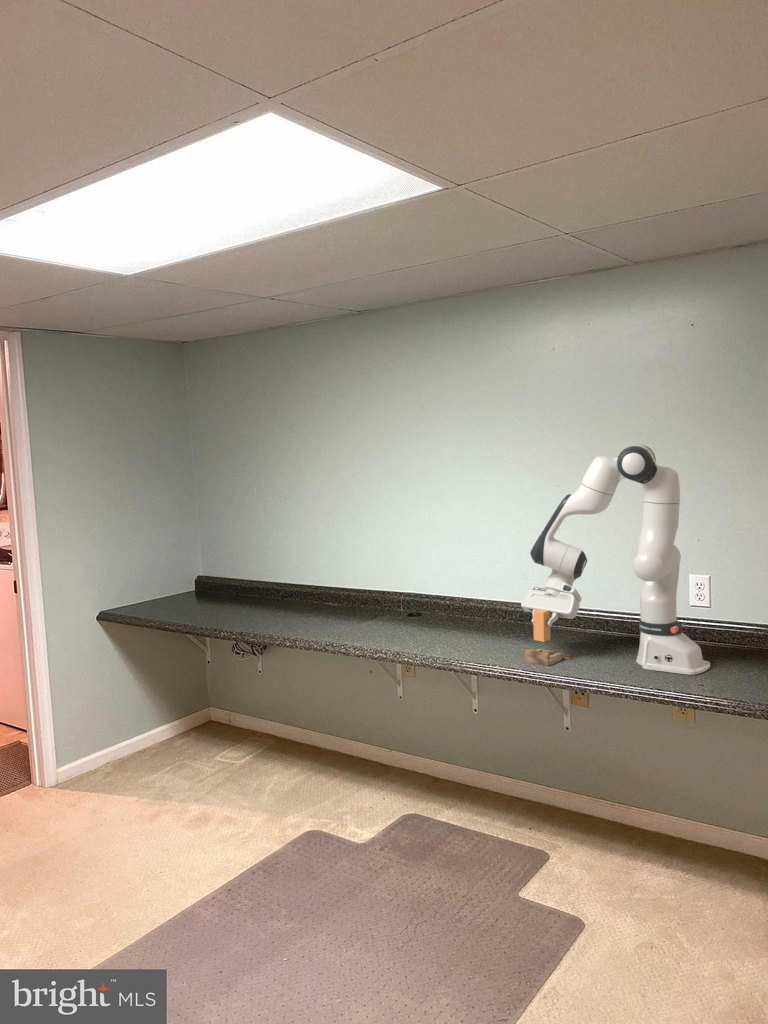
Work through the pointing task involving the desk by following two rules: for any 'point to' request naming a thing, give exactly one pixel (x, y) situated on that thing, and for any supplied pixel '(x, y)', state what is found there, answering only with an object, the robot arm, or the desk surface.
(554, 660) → the index bracket
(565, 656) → the door edge strip
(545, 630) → the block
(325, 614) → the desk surface
